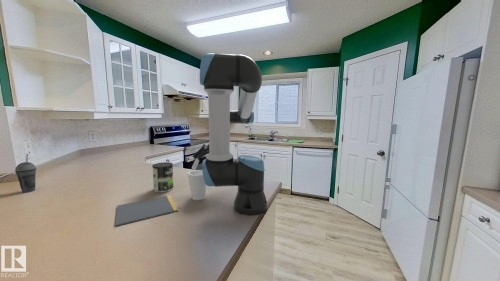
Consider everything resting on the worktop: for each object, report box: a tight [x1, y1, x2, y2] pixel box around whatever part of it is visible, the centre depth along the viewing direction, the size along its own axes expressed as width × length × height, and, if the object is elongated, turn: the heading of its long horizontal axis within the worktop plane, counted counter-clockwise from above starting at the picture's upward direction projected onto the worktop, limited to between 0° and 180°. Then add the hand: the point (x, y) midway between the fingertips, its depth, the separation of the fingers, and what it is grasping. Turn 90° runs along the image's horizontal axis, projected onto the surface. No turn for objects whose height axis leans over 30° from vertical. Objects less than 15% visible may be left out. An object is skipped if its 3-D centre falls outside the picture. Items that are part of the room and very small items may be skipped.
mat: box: [115, 194, 179, 227], centre depth 83 cm, size 18×22×1 cm
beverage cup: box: [14, 153, 37, 194], centre depth 99 cm, size 7×7×20 cm
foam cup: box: [187, 169, 207, 201], centre depth 95 cm, size 10×9×13 cm
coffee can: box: [152, 161, 175, 193], centre depth 105 cm, size 10×10×14 cm
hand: (204, 171), depth 101 cm, fingers open, 13 cm apart
